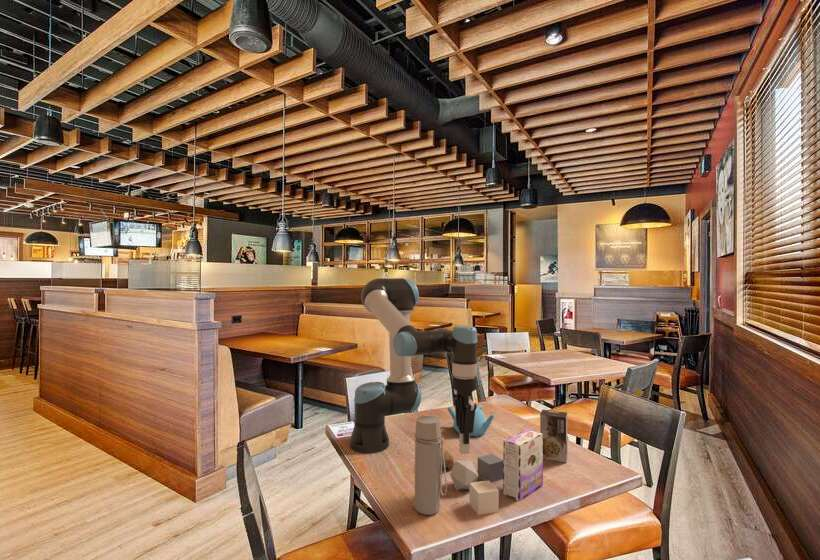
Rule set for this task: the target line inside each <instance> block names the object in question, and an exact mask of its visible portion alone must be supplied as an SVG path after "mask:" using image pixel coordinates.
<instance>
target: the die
mask: <svg viewBox="0 0 820 560" xmlns="http://www.w3.org/2000/svg"><path fill="white" fill-rule="evenodd" d="M449 476H450V478H451V481H452V483H453V485H454V488H455V490H456V491H458V490H460V491H461V490H462V491H464V490H466V491H467V490H468V491H470V483H473V482H478V478H479V475H478V470H476V467H475V465H474V463H473V461H472V460H469V459H468V460H455V461H454V465H453V468H452V469H451V470H450V473H449Z"/></svg>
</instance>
